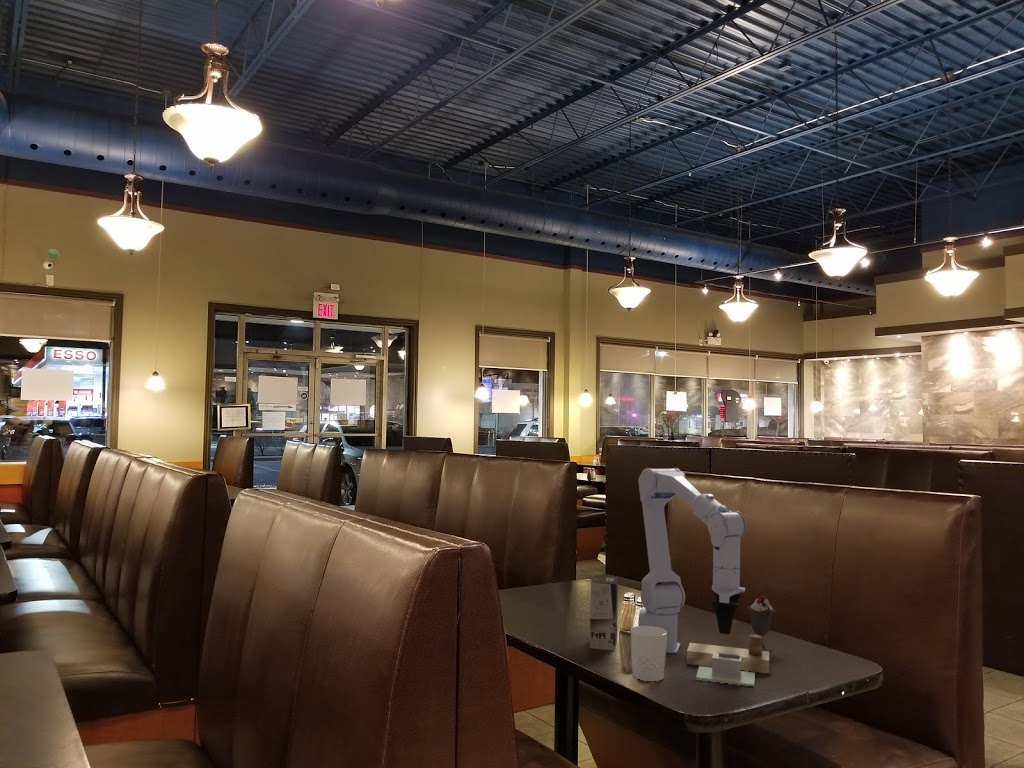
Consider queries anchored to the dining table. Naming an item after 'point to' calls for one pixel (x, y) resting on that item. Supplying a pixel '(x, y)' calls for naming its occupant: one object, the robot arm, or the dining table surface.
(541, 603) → the dining table surface
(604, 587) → the coffee box
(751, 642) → the panel with round knob
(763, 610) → the sundae
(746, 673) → the board
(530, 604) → the dining table surface
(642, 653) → the white cup
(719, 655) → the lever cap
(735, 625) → the dining table surface
